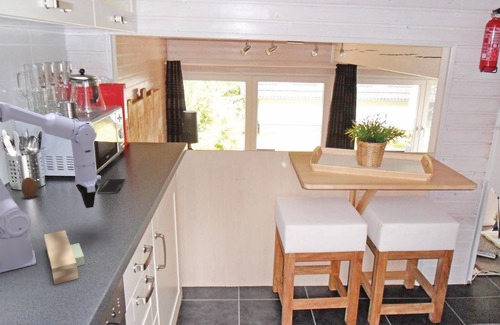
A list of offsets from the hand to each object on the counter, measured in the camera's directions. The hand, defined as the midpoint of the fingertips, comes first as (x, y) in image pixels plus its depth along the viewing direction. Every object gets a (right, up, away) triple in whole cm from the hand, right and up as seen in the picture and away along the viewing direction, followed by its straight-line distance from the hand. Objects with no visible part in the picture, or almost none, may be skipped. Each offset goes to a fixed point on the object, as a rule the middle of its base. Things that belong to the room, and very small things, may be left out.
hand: (89, 206), depth 118 cm
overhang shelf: (-3, -14, -12) cm, 18 cm away
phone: (-8, +3, +42) cm, 43 cm away
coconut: (-34, 0, +30) cm, 45 cm away
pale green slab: (-1, -13, -11) cm, 17 cm away
